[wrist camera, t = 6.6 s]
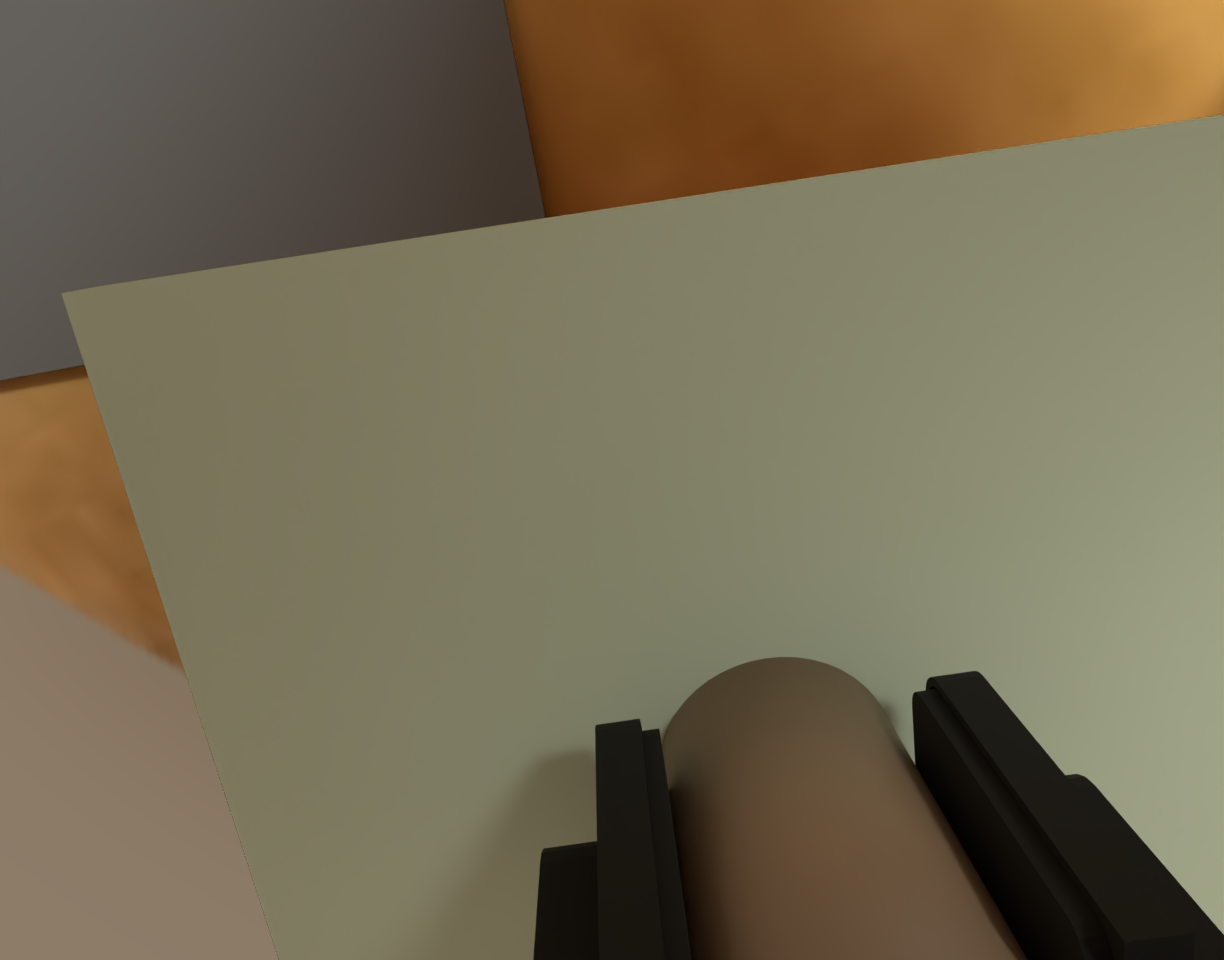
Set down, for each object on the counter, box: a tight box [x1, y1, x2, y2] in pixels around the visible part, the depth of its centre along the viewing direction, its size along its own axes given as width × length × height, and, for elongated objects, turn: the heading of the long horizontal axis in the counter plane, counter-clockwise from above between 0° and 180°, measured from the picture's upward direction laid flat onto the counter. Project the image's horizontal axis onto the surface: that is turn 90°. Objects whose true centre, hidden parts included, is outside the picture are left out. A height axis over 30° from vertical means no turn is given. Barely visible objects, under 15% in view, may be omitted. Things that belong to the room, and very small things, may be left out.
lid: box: [61, 114, 1224, 960], centre depth 10 cm, size 14×14×6 cm
